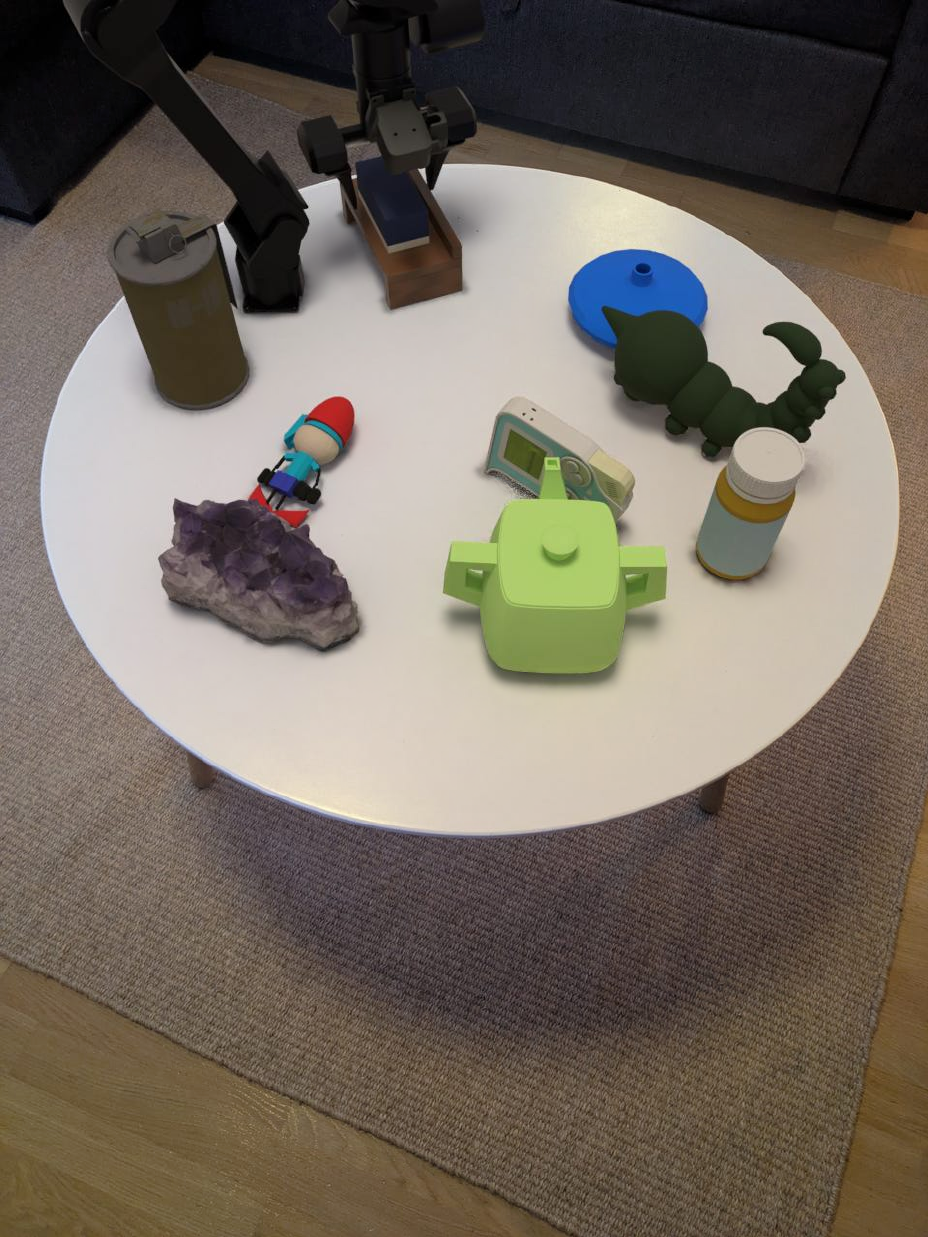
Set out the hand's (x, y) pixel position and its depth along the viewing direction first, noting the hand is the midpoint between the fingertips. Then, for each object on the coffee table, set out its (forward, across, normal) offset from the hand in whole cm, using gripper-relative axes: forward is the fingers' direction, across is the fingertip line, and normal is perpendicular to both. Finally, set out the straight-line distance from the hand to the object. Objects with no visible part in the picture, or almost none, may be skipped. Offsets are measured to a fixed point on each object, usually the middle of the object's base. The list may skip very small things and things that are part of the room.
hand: (392, 197), depth 115 cm
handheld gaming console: (+8, +3, -41) cm, 42 cm away
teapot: (+8, -2, -52) cm, 53 cm away
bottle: (+8, +16, -54) cm, 57 cm away
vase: (+8, +22, -21) cm, 31 cm away
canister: (+8, -26, -11) cm, 30 cm away
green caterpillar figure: (+8, +20, -37) cm, 43 cm away
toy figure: (+8, -19, -28) cm, 35 cm away
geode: (+8, -27, -41) cm, 50 cm away
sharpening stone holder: (+8, +1, 0) cm, 8 cm away
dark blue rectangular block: (+3, 0, 0) cm, 3 cm away
